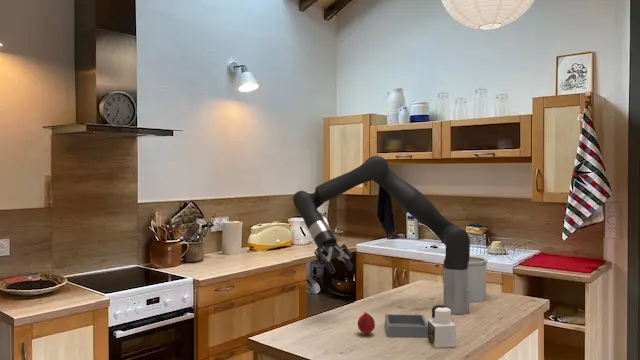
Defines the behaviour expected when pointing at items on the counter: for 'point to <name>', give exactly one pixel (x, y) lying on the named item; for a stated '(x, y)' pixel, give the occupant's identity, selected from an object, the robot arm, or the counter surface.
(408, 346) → the counter surface
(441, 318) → the medicine bottle
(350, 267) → the robot arm
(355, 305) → the counter surface
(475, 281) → the utensil holder
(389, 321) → the slate grey tray
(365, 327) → the onion
